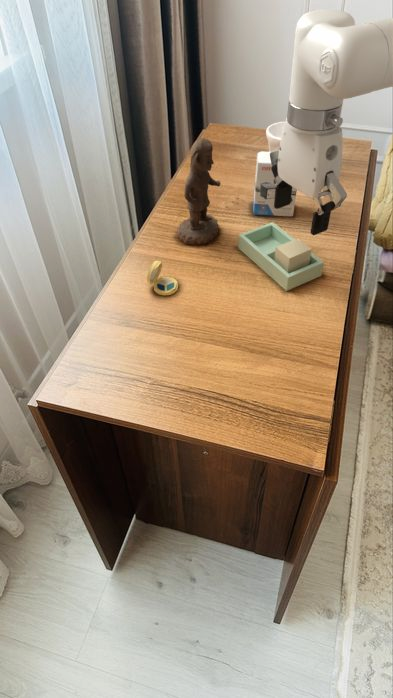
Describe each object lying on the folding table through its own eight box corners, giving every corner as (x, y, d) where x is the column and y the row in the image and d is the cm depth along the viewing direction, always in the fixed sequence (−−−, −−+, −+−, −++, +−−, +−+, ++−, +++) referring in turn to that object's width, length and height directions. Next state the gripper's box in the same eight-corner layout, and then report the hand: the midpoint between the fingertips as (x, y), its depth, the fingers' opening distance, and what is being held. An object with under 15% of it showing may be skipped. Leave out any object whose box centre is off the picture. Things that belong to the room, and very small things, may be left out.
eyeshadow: (170, 298, 88) (168, 276, 85) (146, 290, 90) (143, 268, 86) (182, 283, 91) (181, 261, 87) (158, 276, 93) (156, 254, 89)
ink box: (252, 215, 106) (256, 163, 97) (253, 203, 109) (256, 151, 101) (293, 217, 105) (301, 164, 96) (292, 204, 108) (300, 152, 100)
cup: (257, 162, 122) (260, 124, 115) (295, 156, 123) (300, 118, 116) (271, 182, 115) (275, 142, 108) (311, 176, 117) (318, 136, 110)
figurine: (204, 250, 98) (203, 151, 83) (172, 240, 100) (165, 142, 86) (225, 227, 103) (227, 131, 88) (193, 218, 106) (191, 122, 91)
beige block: (308, 269, 92) (311, 249, 88) (286, 278, 90) (289, 258, 87) (294, 258, 94) (297, 238, 91) (273, 267, 92) (275, 246, 89)
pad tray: (271, 235, 101) (272, 221, 99) (321, 275, 92) (324, 262, 89) (238, 247, 98) (238, 234, 96) (286, 291, 89) (288, 277, 87)
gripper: (377, 128, 68) (352, 235, 80) (296, 90, 78) (285, 191, 90) (334, 142, 65) (316, 250, 78) (257, 101, 76) (251, 203, 88)
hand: (299, 218), depth 84 cm, fingers open, 9 cm apart
